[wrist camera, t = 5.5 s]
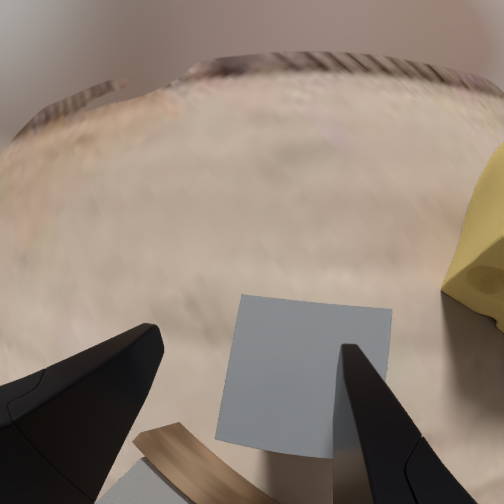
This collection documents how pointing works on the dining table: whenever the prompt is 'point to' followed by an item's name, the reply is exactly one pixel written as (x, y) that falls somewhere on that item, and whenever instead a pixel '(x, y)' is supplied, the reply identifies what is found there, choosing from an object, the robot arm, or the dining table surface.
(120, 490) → the trapdoor
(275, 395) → the grey rectangular block
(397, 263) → the dining table surface
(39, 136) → the dining table surface
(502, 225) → the cheese
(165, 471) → the trap frame
